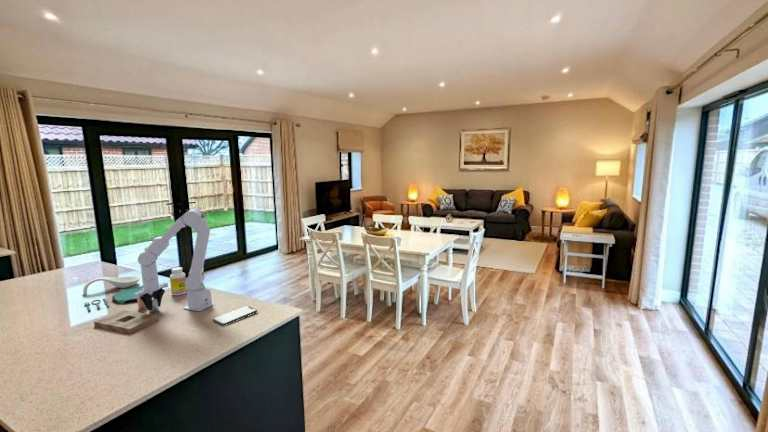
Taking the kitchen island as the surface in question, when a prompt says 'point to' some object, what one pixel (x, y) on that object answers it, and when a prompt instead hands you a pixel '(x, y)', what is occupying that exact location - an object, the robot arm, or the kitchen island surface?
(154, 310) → the steel pin
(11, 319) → the kitchen island surface
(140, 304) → the terracotta pin
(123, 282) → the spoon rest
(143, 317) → the wooden board with hole
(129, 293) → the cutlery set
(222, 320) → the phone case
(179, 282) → the supplement bottle
